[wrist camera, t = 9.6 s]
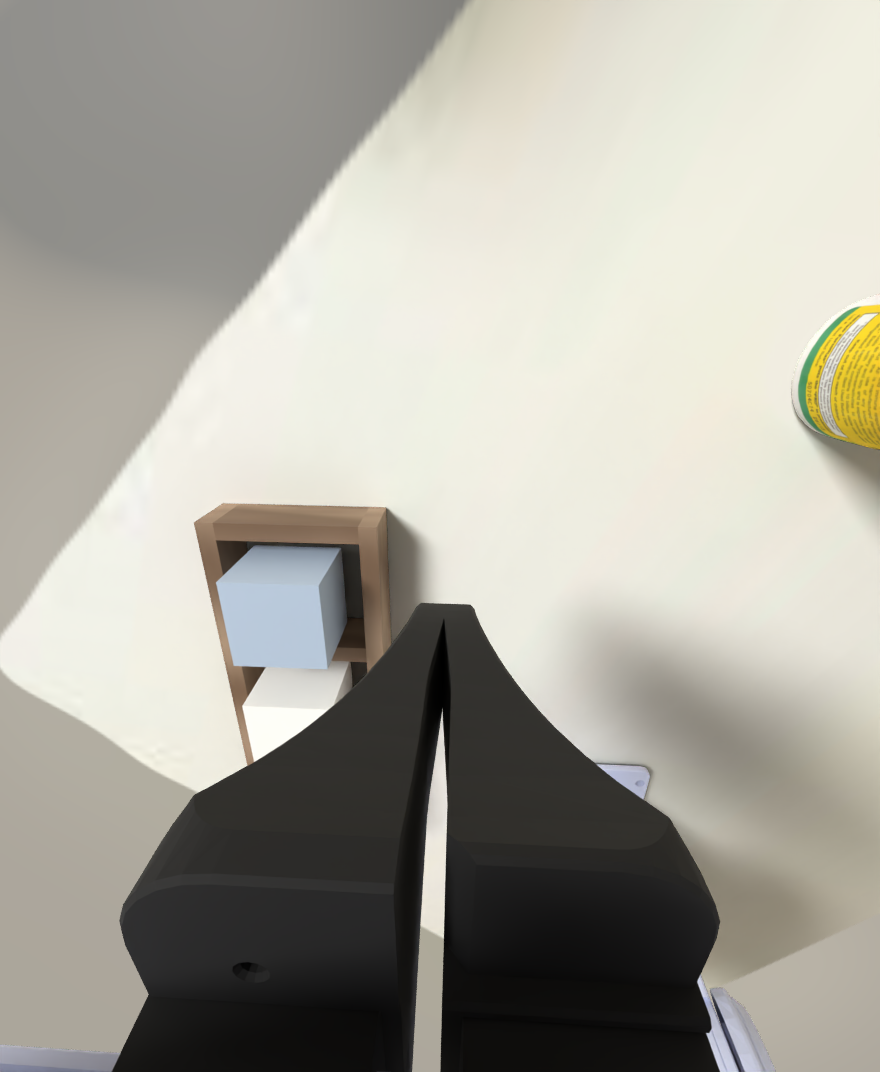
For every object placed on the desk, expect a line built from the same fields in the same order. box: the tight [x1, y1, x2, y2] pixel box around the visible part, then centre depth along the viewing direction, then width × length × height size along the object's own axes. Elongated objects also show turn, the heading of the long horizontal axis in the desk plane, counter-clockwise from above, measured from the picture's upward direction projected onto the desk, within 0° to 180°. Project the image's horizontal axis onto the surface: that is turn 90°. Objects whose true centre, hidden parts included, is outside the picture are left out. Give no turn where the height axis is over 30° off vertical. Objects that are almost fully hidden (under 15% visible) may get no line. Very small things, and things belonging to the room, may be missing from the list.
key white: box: [242, 661, 353, 762], centre depth 22 cm, size 4×4×4 cm
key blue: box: [216, 545, 347, 669], centre depth 19 cm, size 4×4×4 cm
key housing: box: [194, 504, 391, 765], centre depth 24 cm, size 19×8×2 cm, turn 179°
